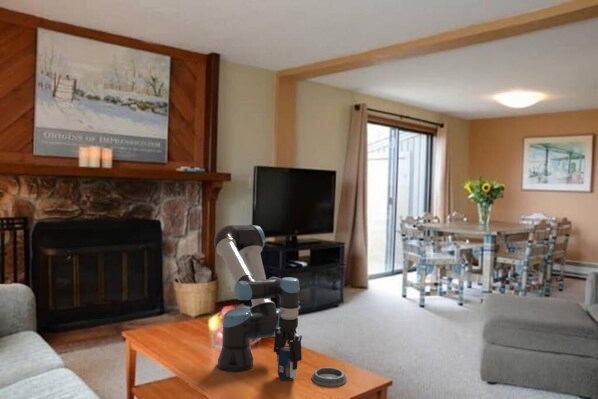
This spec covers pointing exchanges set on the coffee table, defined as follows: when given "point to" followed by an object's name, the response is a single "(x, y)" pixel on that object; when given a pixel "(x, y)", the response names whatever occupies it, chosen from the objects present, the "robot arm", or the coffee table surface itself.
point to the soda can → (284, 363)
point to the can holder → (329, 377)
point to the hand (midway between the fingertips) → (286, 373)
